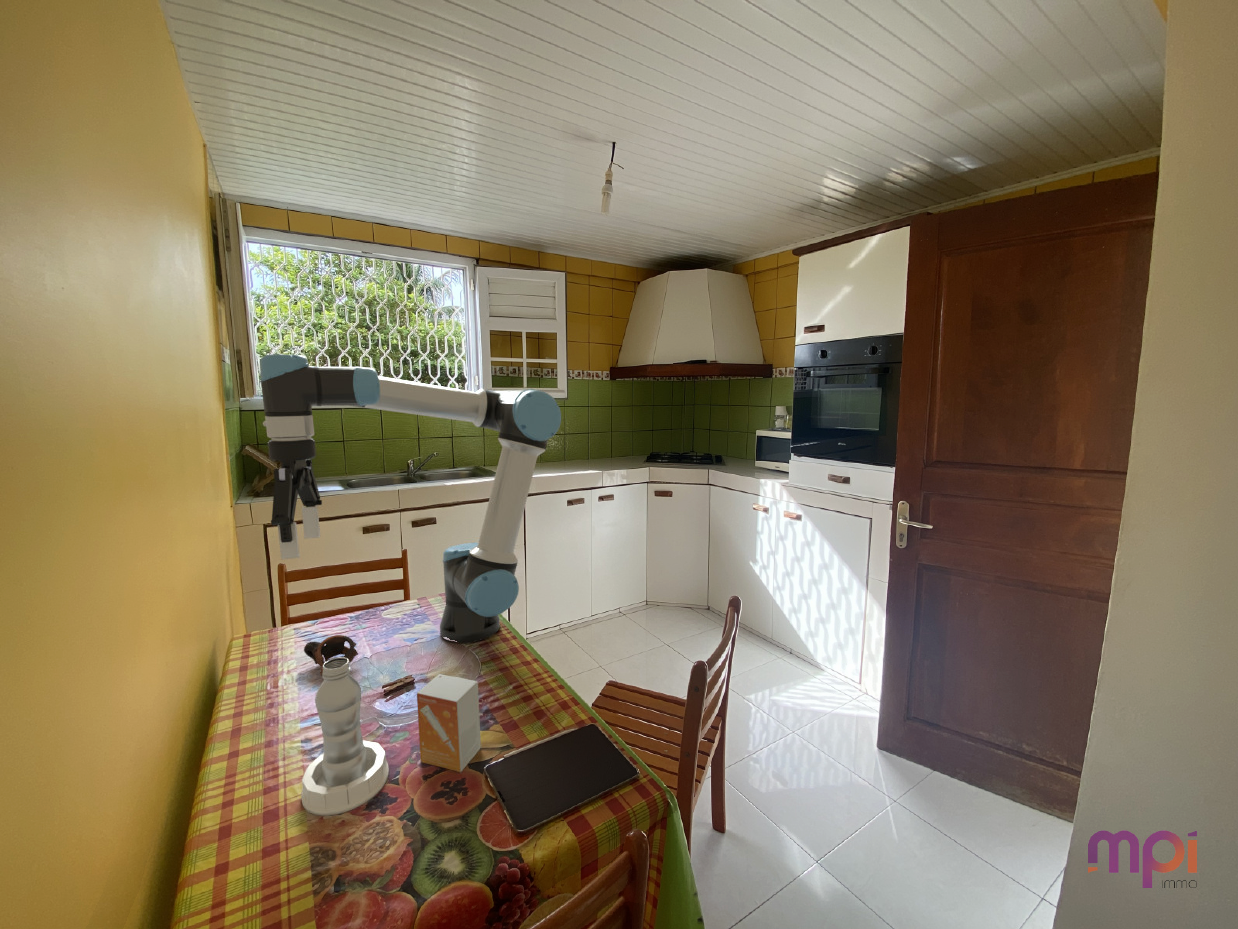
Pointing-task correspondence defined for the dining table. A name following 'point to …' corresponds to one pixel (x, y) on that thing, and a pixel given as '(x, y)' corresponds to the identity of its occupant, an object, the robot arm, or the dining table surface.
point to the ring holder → (344, 797)
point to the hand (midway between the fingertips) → (302, 547)
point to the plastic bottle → (340, 724)
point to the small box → (449, 722)
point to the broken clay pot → (330, 649)
